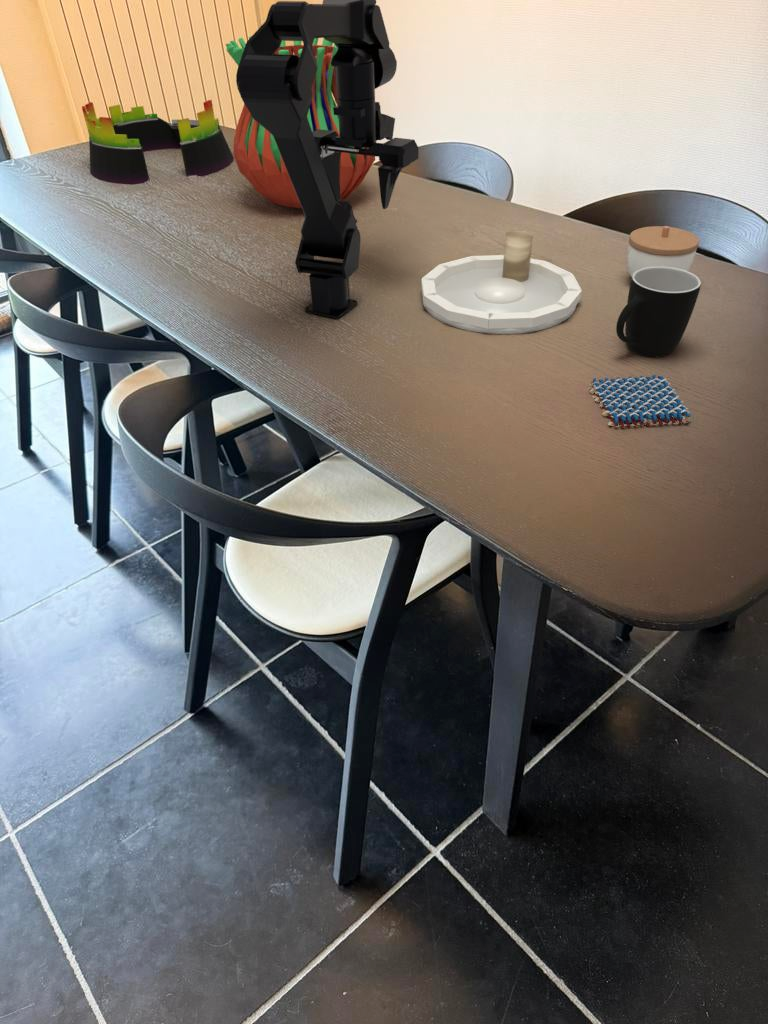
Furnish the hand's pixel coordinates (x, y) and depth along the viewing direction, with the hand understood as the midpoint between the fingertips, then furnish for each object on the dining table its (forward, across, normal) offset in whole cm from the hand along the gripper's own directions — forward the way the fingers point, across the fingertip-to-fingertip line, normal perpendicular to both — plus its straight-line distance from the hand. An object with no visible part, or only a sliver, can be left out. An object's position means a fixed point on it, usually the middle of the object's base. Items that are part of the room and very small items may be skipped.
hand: (361, 204), depth 117 cm
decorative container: (+13, +85, -41) cm, 95 cm away
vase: (+12, +33, -32) cm, 48 cm away
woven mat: (+13, -53, +21) cm, 58 cm away
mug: (+12, -50, +6) cm, 52 cm away
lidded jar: (+12, -46, -18) cm, 51 cm away
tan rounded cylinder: (+11, -25, -8) cm, 29 cm away
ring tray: (+12, -25, -1) cm, 28 cm away
